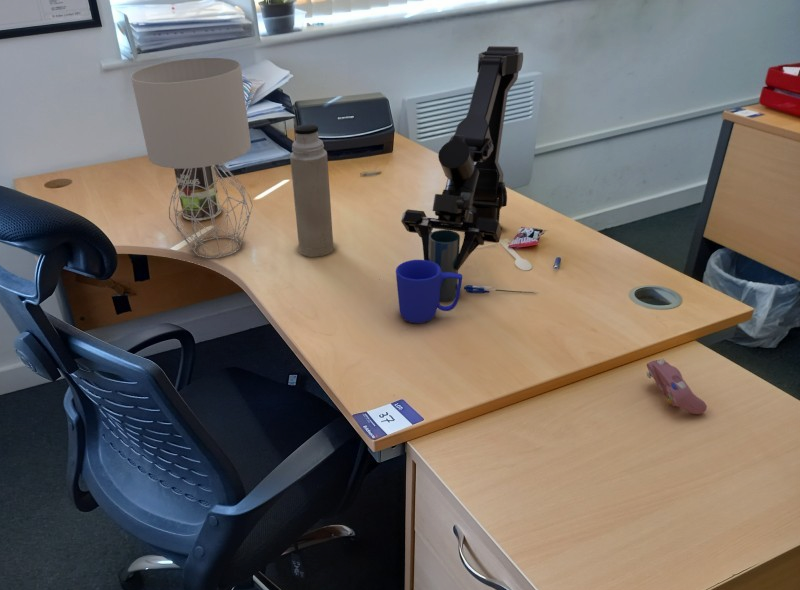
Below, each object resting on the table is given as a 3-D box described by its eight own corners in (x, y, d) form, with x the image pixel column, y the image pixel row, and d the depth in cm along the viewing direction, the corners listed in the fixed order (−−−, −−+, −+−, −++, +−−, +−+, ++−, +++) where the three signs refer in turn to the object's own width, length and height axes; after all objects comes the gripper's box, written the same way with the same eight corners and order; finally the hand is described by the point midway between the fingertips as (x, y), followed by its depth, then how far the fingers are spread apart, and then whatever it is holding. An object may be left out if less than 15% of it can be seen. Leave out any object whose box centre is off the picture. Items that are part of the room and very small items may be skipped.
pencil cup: (441, 284, 140) (443, 227, 133) (463, 294, 136) (466, 236, 129) (421, 294, 137) (422, 236, 130) (442, 304, 133) (444, 245, 126)
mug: (459, 329, 126) (462, 281, 120) (393, 326, 128) (393, 279, 122) (460, 307, 132) (463, 260, 127) (398, 304, 135) (398, 258, 129)
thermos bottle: (308, 240, 162) (297, 120, 147) (338, 244, 159) (331, 122, 143) (293, 254, 157) (280, 131, 141) (324, 258, 154) (315, 133, 138)
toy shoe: (649, 387, 110) (637, 358, 107) (676, 374, 109) (665, 344, 106) (680, 426, 102) (669, 396, 99) (710, 413, 101) (700, 381, 98)
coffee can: (209, 222, 175) (200, 169, 167) (175, 219, 179) (164, 166, 171) (228, 207, 183) (220, 155, 175) (195, 204, 187) (186, 153, 179)
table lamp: (187, 278, 150) (148, 89, 128) (158, 243, 167) (119, 70, 144) (279, 252, 158) (257, 68, 135) (242, 220, 175) (218, 53, 152)
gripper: (404, 169, 130) (384, 246, 128) (502, 178, 123) (483, 259, 121) (417, 194, 140) (399, 266, 138) (508, 203, 133) (491, 279, 131)
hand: (440, 267), depth 132 cm, fingers closed on pencil cup, 6 cm apart
